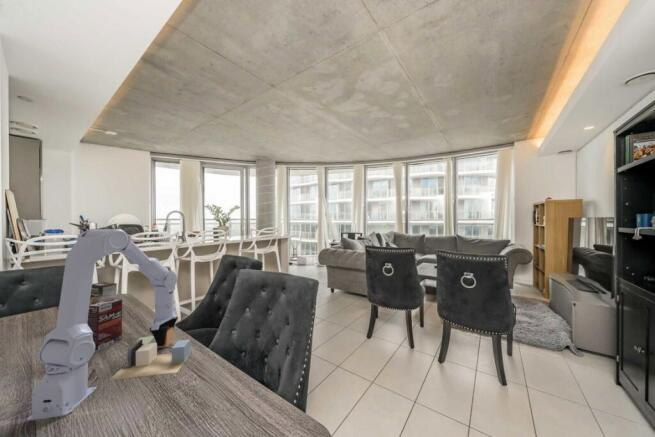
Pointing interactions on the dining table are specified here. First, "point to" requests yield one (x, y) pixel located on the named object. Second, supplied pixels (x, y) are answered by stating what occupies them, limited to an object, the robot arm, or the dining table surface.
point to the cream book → (146, 354)
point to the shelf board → (151, 368)
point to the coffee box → (103, 292)
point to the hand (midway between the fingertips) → (164, 341)
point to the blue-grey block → (180, 350)
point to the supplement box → (106, 323)
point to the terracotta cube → (168, 338)
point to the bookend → (132, 354)
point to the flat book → (146, 339)
